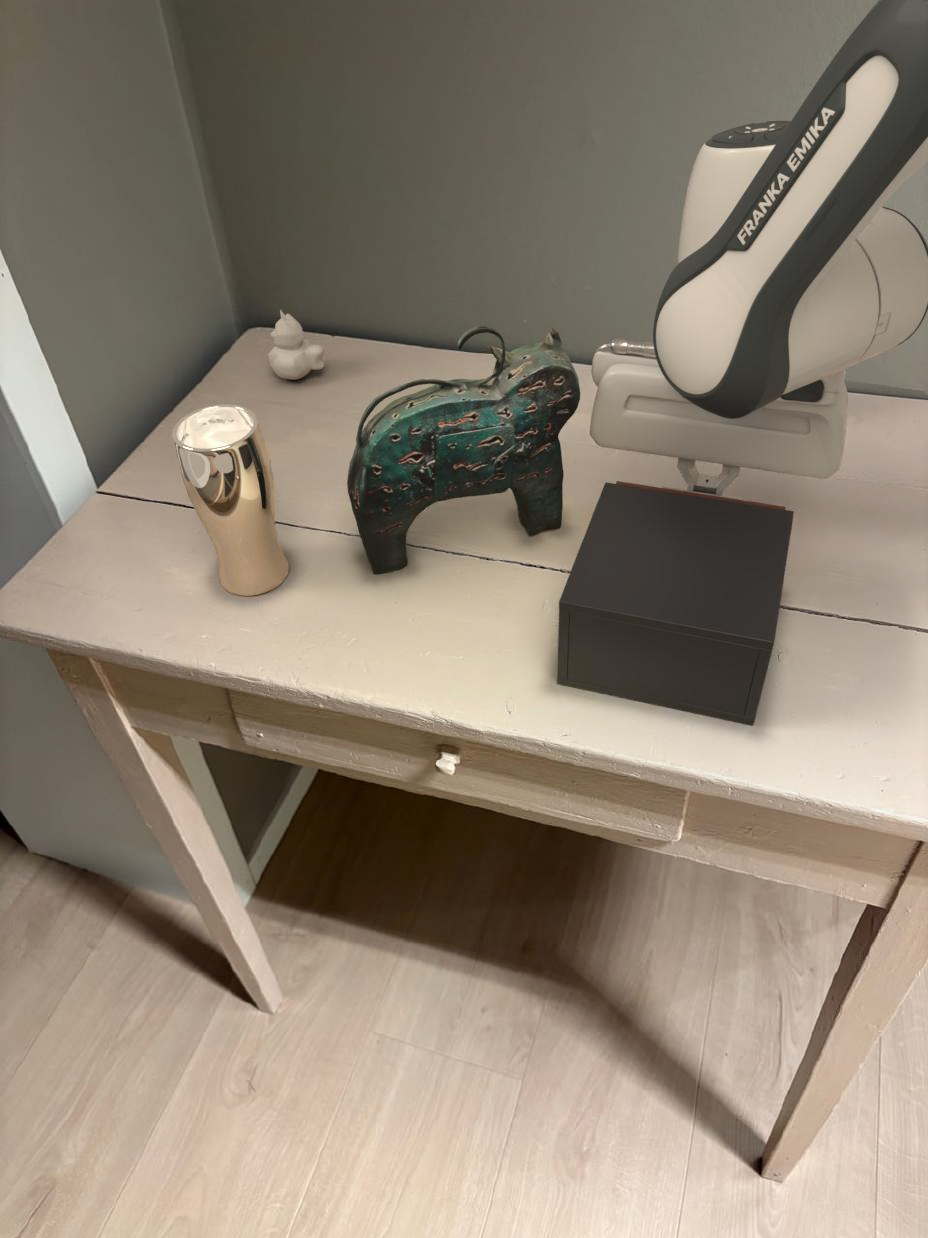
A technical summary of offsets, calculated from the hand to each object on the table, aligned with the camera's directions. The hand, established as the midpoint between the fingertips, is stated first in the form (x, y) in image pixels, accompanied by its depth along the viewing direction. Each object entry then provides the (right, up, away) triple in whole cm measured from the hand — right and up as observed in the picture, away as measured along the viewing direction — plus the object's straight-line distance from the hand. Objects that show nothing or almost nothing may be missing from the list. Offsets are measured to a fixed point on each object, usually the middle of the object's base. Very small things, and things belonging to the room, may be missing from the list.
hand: (704, 497), depth 83 cm
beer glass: (-39, -7, +1) cm, 40 cm away
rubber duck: (-39, +17, +26) cm, 50 cm away
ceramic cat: (-20, -4, +3) cm, 21 cm away
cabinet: (-4, -12, -7) cm, 15 cm away
